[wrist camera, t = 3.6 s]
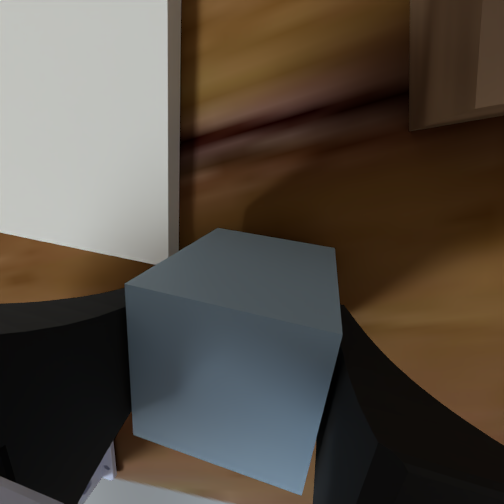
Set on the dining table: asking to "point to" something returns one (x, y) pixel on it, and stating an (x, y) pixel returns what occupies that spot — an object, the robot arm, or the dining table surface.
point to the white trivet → (91, 124)
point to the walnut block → (455, 62)
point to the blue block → (236, 352)
